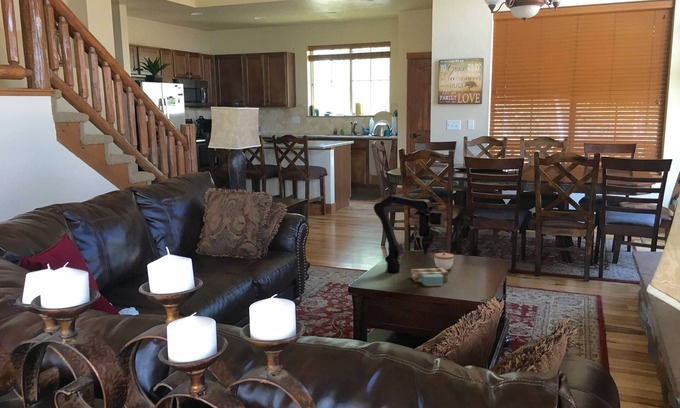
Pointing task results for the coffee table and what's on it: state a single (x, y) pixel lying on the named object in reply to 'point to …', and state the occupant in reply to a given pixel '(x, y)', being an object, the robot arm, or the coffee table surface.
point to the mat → (434, 284)
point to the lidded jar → (444, 260)
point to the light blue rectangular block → (432, 279)
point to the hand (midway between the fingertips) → (422, 252)
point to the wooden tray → (417, 273)
